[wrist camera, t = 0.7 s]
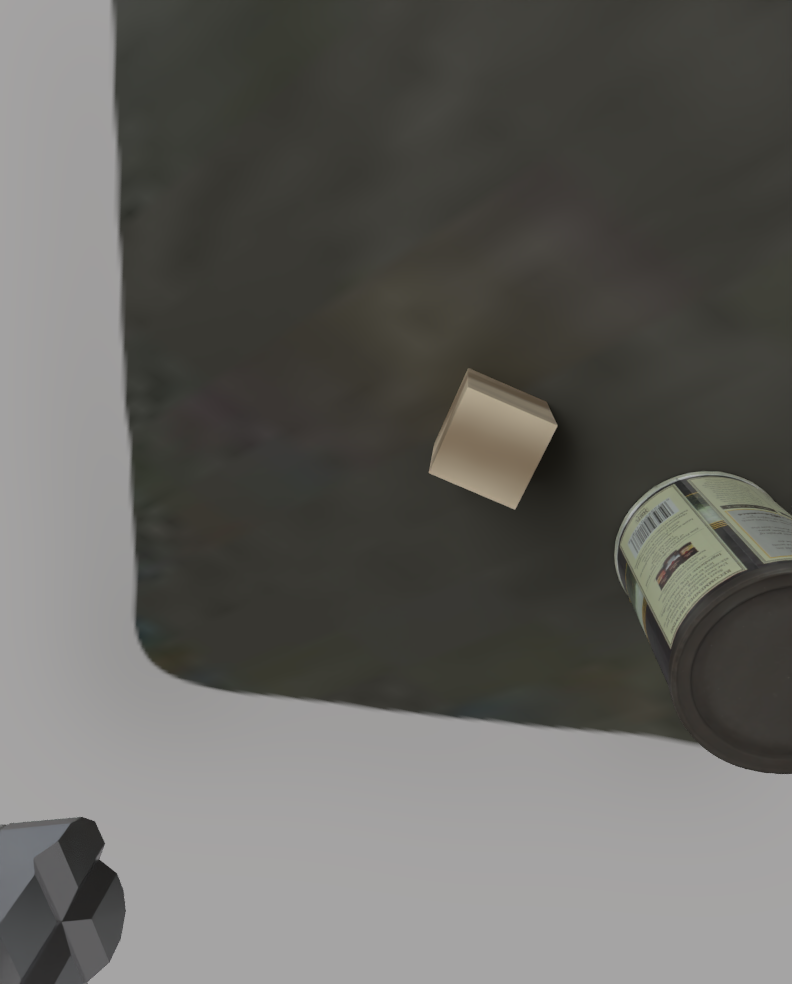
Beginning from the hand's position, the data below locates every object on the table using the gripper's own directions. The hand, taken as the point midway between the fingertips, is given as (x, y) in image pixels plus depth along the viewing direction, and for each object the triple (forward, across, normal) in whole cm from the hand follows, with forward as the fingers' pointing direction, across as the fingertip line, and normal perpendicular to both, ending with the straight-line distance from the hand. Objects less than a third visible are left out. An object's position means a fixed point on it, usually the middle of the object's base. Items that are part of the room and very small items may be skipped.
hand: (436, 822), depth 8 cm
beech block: (+37, -1, +4) cm, 37 cm away
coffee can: (+37, -12, +14) cm, 41 cm away
